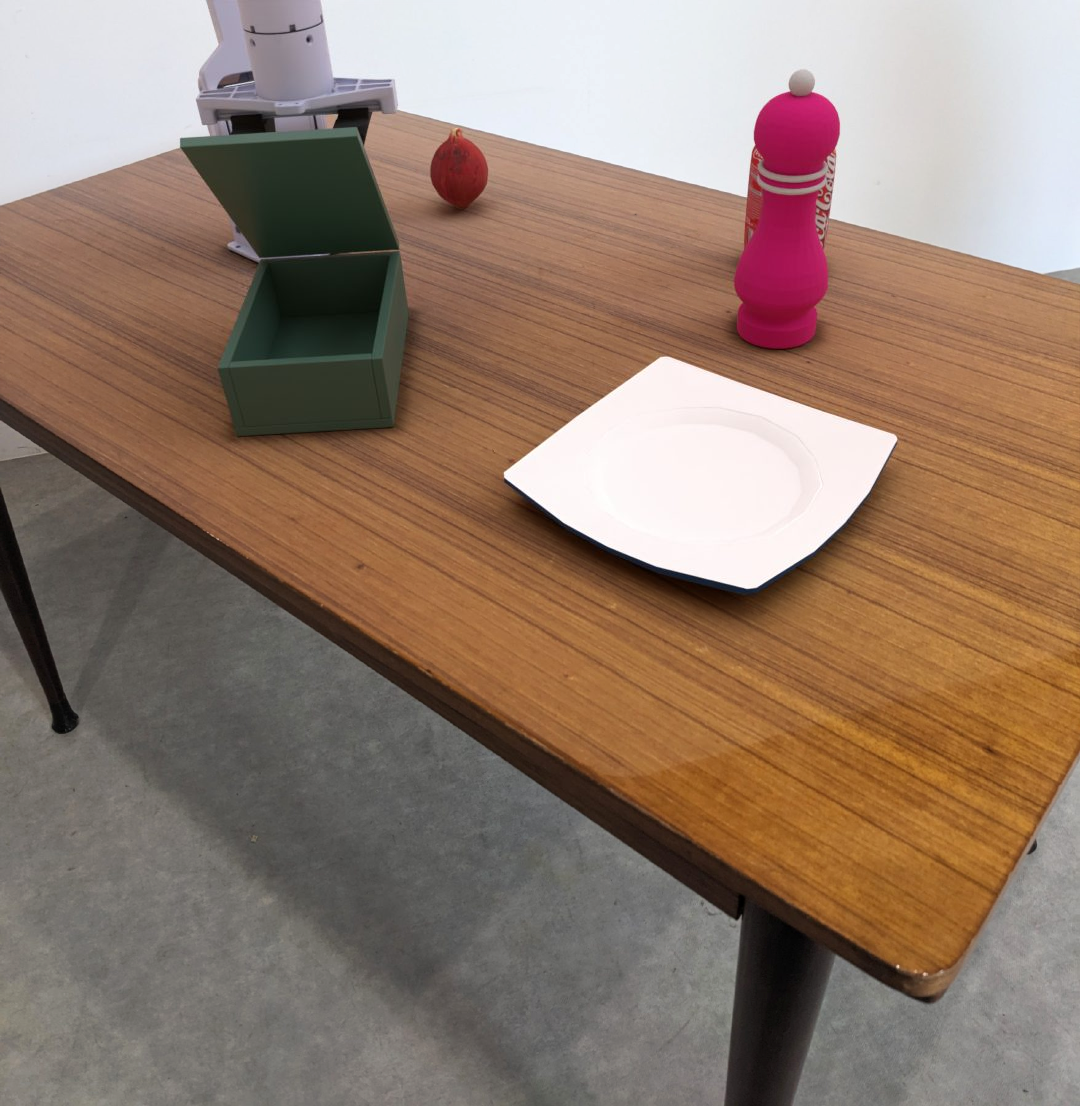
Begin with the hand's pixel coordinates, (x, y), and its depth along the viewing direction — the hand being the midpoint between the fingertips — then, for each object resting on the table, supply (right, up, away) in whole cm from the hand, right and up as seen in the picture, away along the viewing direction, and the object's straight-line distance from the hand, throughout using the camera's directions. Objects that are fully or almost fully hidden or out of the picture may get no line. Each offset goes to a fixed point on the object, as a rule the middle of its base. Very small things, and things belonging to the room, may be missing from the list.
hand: (318, 209), depth 83 cm
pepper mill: (+37, -9, +2) cm, 38 cm away
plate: (+28, -23, -14) cm, 39 cm away
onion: (+10, +8, +24) cm, 27 cm away
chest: (+1, -13, 0) cm, 13 cm away
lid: (0, -2, -6) cm, 6 cm away
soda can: (+39, -2, +10) cm, 41 cm away
